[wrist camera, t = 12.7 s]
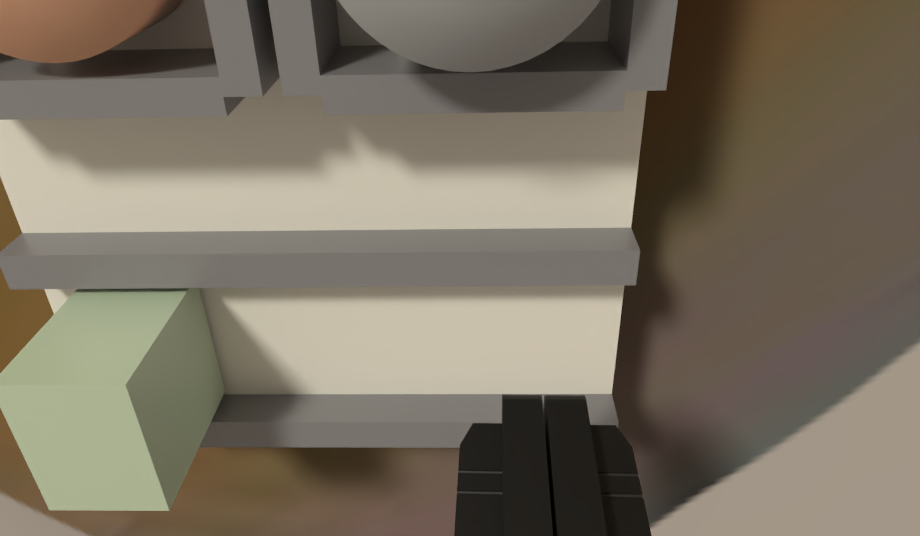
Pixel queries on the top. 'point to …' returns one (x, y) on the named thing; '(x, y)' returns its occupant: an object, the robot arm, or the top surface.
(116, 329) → the sage slider
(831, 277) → the top surface
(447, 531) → the top surface
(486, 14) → the grey button
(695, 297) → the top surface
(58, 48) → the terracotta button
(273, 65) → the panel
